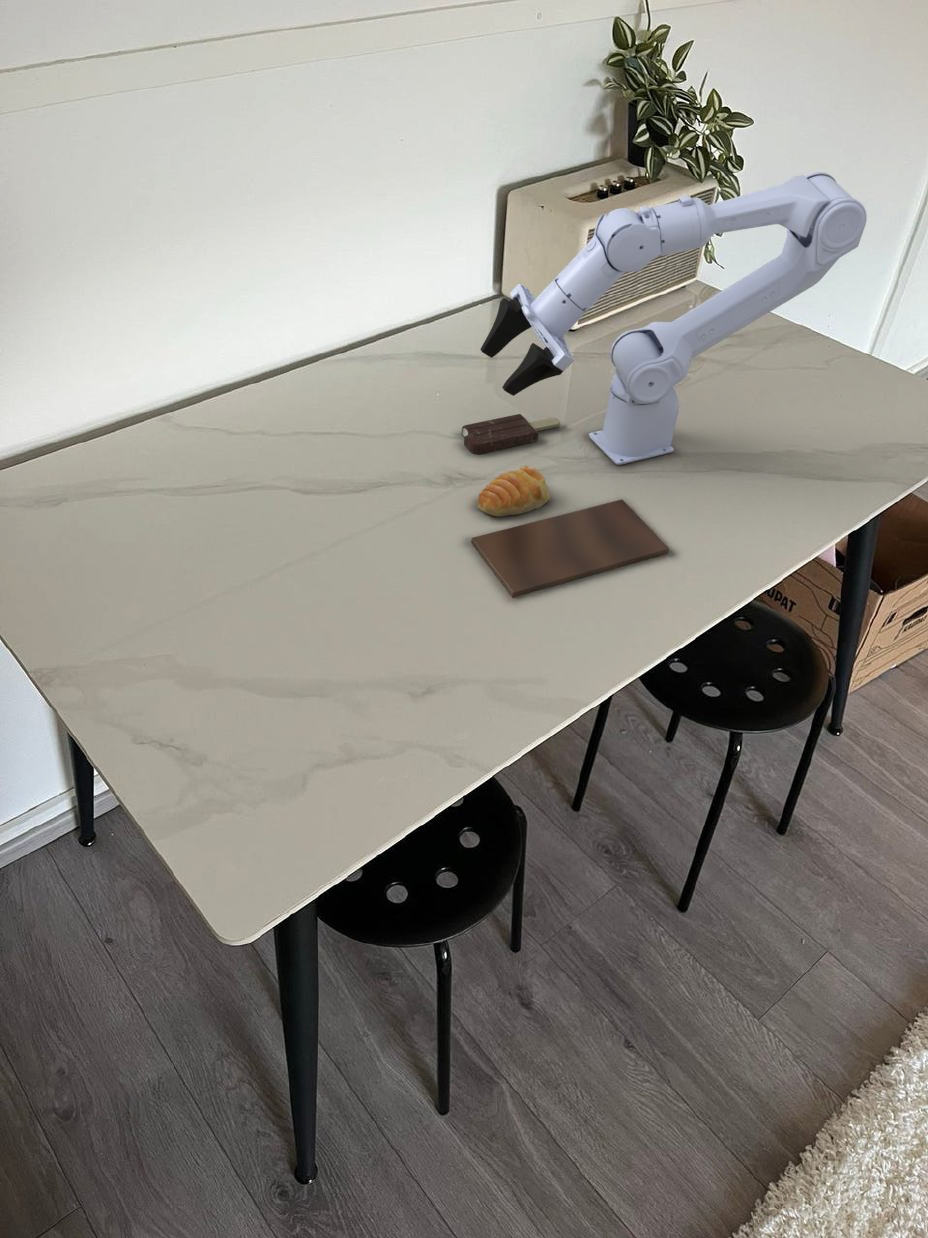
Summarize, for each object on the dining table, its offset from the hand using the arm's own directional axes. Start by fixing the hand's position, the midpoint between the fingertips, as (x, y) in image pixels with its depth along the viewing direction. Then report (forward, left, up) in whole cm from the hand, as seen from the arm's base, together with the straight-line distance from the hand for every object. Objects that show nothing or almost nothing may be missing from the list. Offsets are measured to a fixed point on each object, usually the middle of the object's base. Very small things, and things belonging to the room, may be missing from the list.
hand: (496, 372), depth 135 cm
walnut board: (0, +23, -12) cm, 26 cm away
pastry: (+2, +12, -12) cm, 17 cm away
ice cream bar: (-5, -2, -12) cm, 13 cm away
